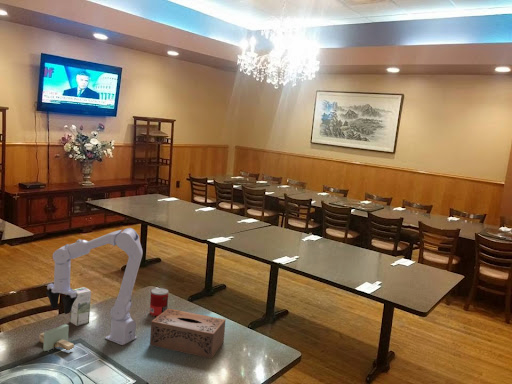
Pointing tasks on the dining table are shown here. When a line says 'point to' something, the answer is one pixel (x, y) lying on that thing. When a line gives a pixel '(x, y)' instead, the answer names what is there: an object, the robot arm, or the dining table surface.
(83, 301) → the syrup box
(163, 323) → the tissue box cover
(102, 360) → the dining table surface
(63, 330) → the cross plate
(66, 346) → the slotted rail
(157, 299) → the canned food
